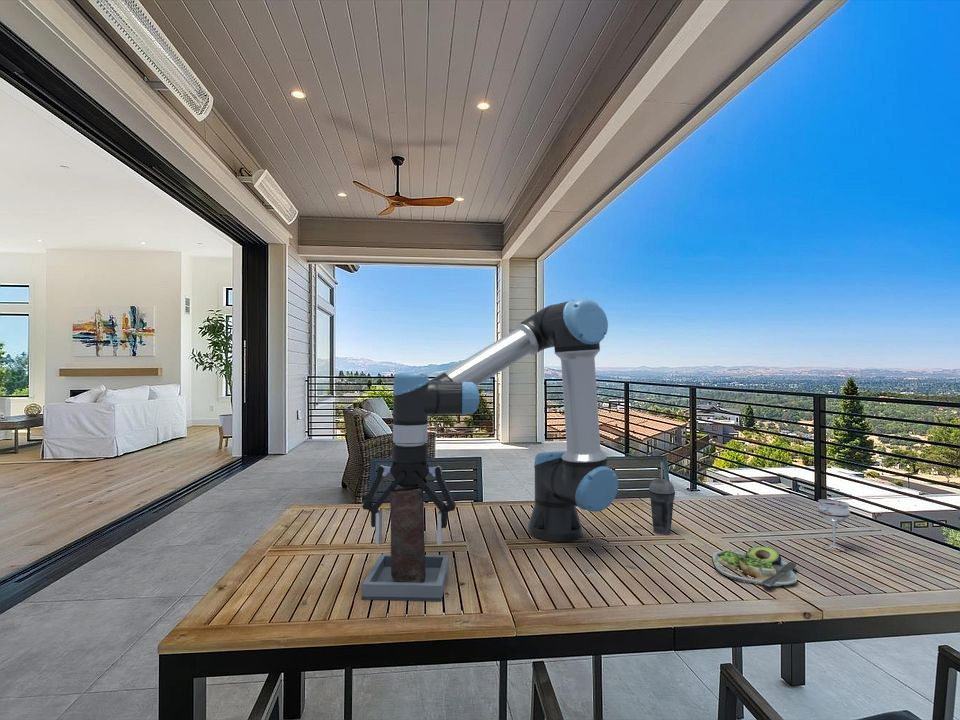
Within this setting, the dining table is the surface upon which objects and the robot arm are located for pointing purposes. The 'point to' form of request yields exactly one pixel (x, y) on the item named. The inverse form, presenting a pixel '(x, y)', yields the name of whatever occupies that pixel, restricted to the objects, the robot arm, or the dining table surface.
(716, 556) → the salad plate
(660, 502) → the beverage cup
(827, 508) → the wineglass
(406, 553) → the brown rough cylinder
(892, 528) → the dining table surface
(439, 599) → the tray
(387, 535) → the dining table surface
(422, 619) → the dining table surface
